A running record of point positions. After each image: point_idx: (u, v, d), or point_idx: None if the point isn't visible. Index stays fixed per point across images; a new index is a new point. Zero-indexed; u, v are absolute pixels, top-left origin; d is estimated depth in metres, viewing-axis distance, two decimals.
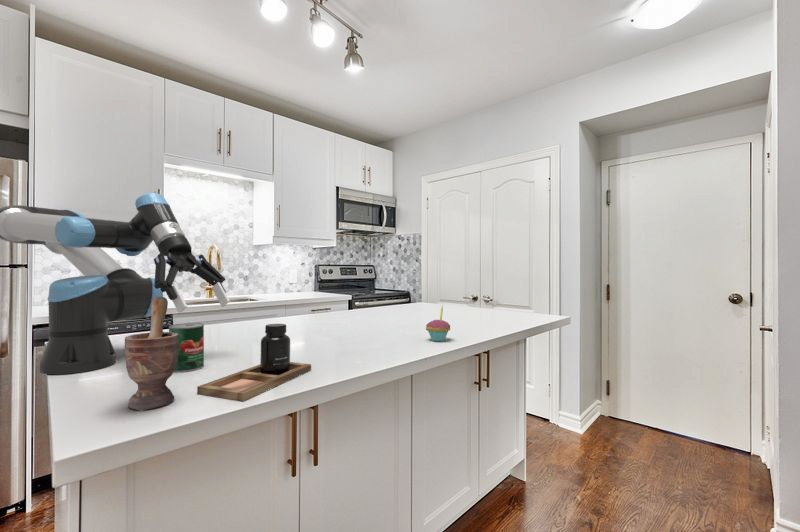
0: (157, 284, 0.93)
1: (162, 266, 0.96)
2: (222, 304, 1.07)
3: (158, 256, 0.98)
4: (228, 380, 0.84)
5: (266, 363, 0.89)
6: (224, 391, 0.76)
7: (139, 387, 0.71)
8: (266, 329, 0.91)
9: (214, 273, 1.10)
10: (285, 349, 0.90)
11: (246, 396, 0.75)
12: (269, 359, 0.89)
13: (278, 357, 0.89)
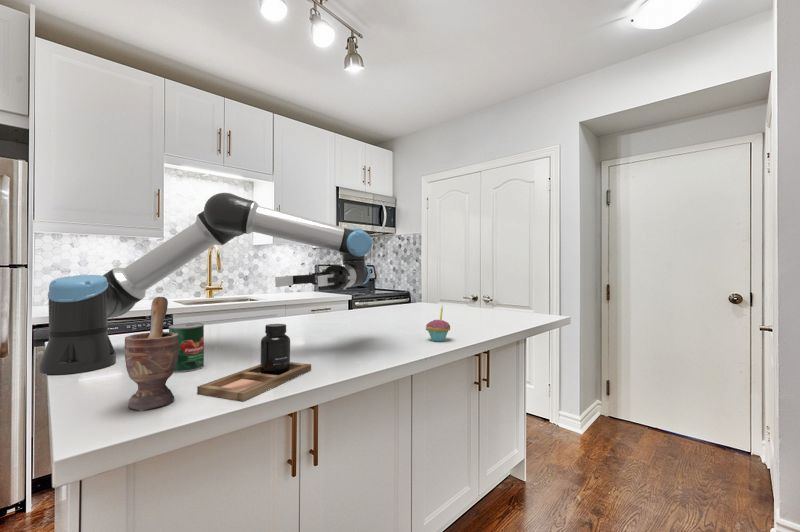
0: (345, 279, 1.04)
1: None
2: (278, 279, 1.04)
3: (349, 280, 1.13)
4: (228, 380, 0.84)
5: (266, 363, 0.89)
6: (224, 391, 0.76)
7: (139, 387, 0.71)
8: (266, 329, 0.91)
9: None
10: (285, 349, 0.90)
11: (246, 396, 0.75)
12: (269, 359, 0.89)
13: (278, 357, 0.89)
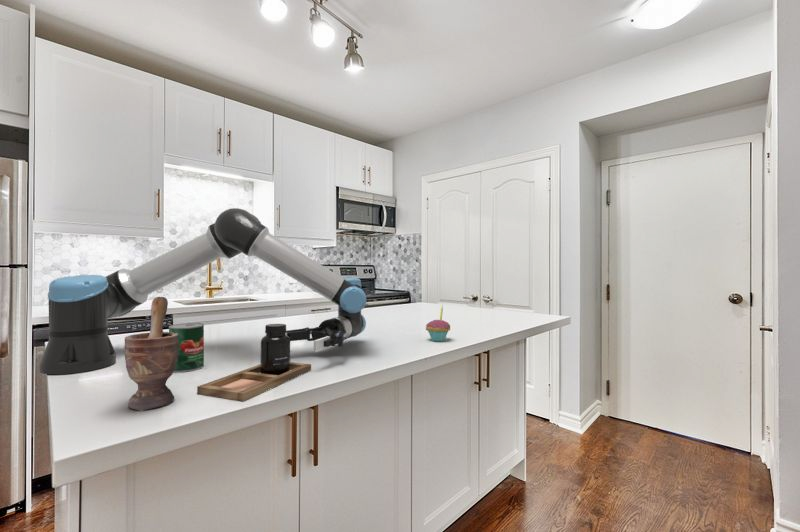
0: (342, 341, 1.01)
1: None
2: None
3: (345, 337, 1.10)
4: (228, 380, 0.84)
5: (266, 363, 0.89)
6: (224, 391, 0.76)
7: (139, 387, 0.71)
8: (266, 329, 0.91)
9: None
10: (285, 349, 0.90)
11: (246, 396, 0.75)
12: (269, 359, 0.89)
13: (278, 357, 0.89)
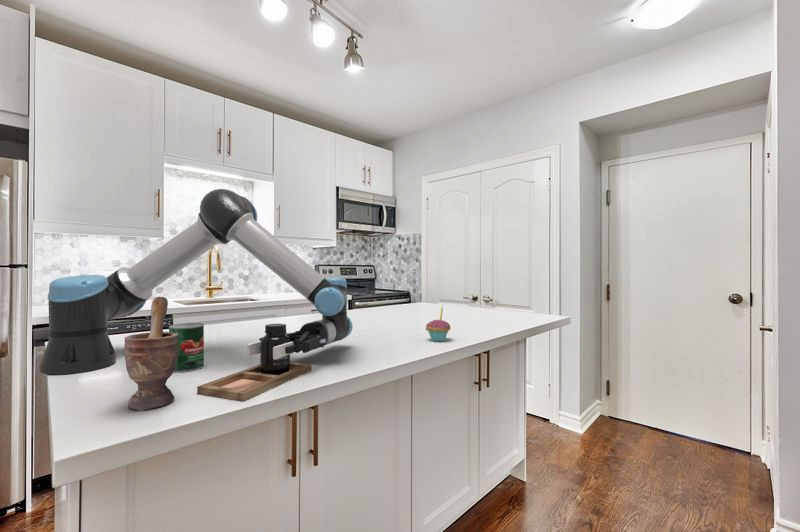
0: (306, 347, 0.92)
1: None
2: (250, 347, 0.89)
3: (324, 343, 1.00)
4: (228, 380, 0.84)
5: (266, 363, 0.89)
6: (224, 391, 0.76)
7: (139, 387, 0.71)
8: (266, 329, 0.91)
9: None
10: None
11: (246, 396, 0.75)
12: (269, 358, 0.89)
13: None
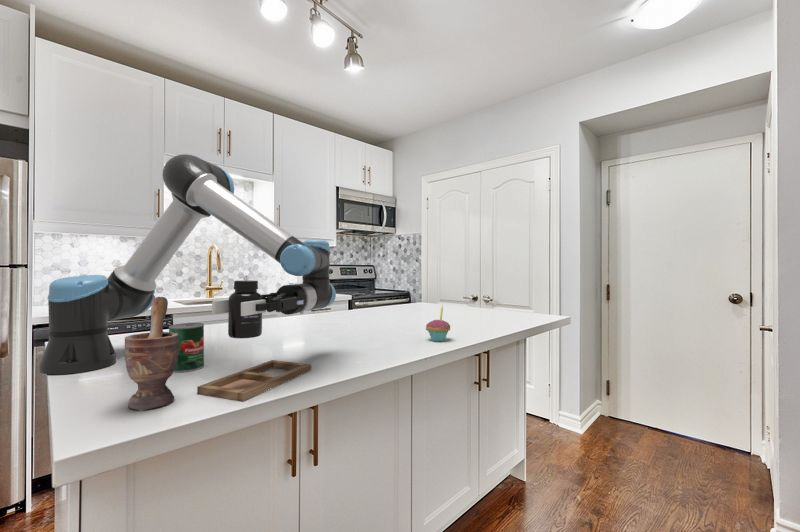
0: (279, 306, 0.83)
1: (290, 308, 0.88)
2: (216, 303, 0.80)
3: (301, 305, 0.91)
4: (228, 380, 0.84)
5: (234, 322, 0.80)
6: (224, 391, 0.76)
7: (139, 387, 0.71)
8: (235, 285, 0.81)
9: None
10: None
11: (246, 396, 0.75)
12: (238, 316, 0.79)
13: (247, 315, 0.80)
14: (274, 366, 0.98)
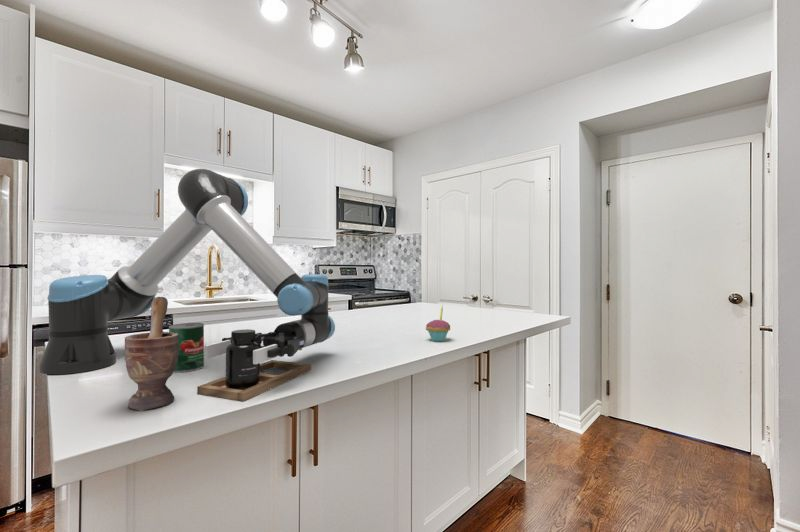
0: (292, 350, 0.82)
1: None
2: (208, 348, 0.81)
3: (302, 345, 0.91)
4: None
5: (231, 374, 0.79)
6: (224, 391, 0.76)
7: (139, 387, 0.71)
8: (232, 336, 0.81)
9: None
10: None
11: (246, 396, 0.75)
12: (235, 369, 0.79)
13: (244, 367, 0.79)
14: (274, 366, 0.98)
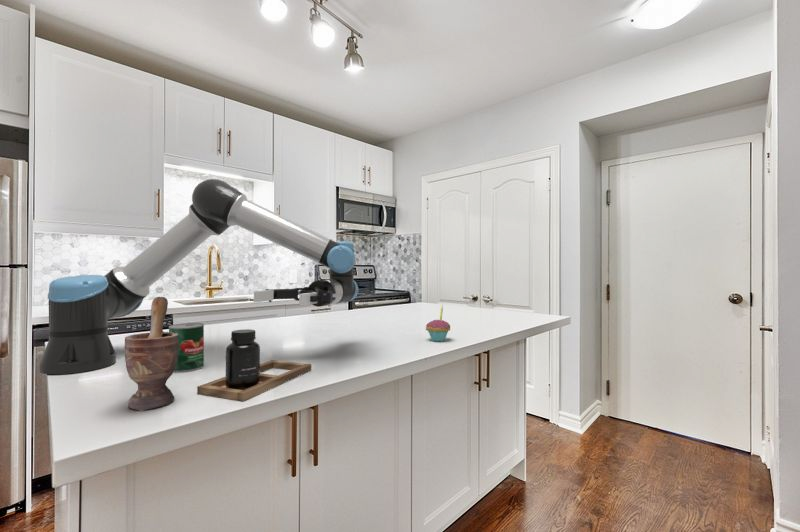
0: (329, 298, 0.97)
1: None
2: (257, 293, 0.96)
3: (334, 298, 1.05)
4: None
5: (231, 374, 0.79)
6: (224, 391, 0.76)
7: (139, 387, 0.71)
8: (232, 336, 0.81)
9: None
10: (253, 358, 0.80)
11: (246, 396, 0.75)
12: (235, 369, 0.79)
13: (244, 367, 0.79)
14: (274, 366, 0.98)
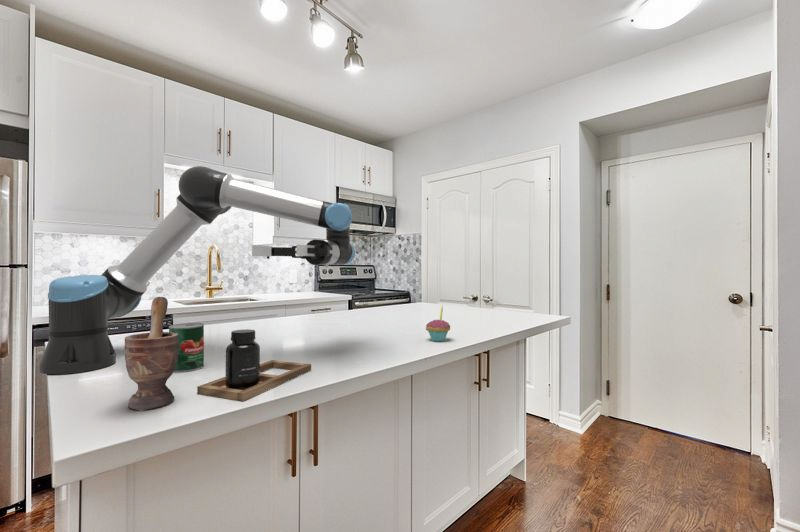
0: (326, 250, 0.99)
1: None
2: (255, 247, 0.98)
3: (331, 254, 1.07)
4: None
5: (231, 374, 0.79)
6: (224, 391, 0.76)
7: (139, 387, 0.71)
8: (232, 336, 0.81)
9: None
10: (253, 358, 0.80)
11: (246, 396, 0.75)
12: (235, 369, 0.79)
13: (244, 367, 0.79)
14: (274, 366, 0.98)
